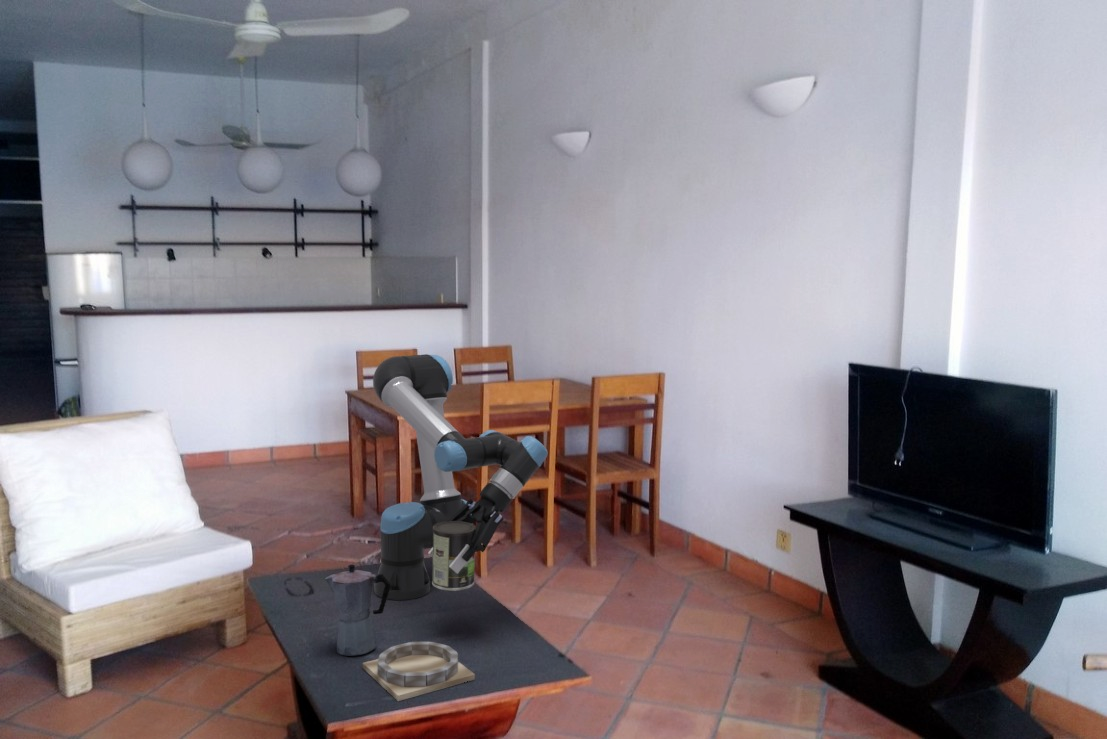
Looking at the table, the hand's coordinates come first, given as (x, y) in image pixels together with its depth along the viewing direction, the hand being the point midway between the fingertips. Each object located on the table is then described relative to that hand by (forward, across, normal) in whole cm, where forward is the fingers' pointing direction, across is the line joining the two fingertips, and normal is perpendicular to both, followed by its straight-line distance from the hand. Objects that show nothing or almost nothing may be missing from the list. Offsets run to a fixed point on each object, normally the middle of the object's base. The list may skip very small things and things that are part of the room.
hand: (442, 563), depth 211 cm
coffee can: (+2, 0, -6) cm, 6 cm away
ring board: (+22, -16, -2) cm, 28 cm away
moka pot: (+27, +3, +1) cm, 27 cm away
